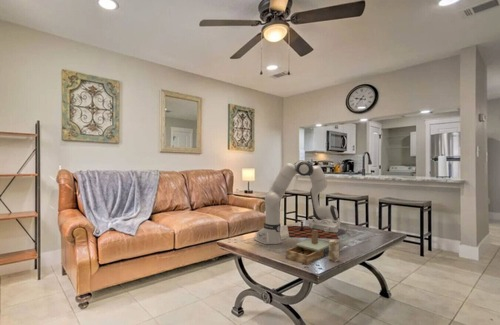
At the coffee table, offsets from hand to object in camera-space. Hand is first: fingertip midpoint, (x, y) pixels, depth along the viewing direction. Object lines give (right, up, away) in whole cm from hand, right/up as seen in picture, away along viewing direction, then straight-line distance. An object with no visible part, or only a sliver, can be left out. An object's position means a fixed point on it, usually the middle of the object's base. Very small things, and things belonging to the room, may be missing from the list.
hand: (317, 228), depth 186 cm
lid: (-3, -11, -3) cm, 11 cm away
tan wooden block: (+6, -16, -17) cm, 24 cm away
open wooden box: (-11, -16, -12) cm, 23 cm away
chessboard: (+7, -17, +52) cm, 56 cm away
